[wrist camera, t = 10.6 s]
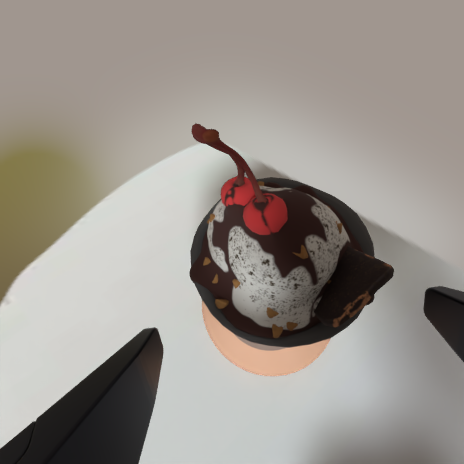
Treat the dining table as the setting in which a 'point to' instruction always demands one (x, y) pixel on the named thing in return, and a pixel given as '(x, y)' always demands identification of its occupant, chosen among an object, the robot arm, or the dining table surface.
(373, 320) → the dining table surface
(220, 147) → the sundae
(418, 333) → the dining table surface
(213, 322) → the saucer
